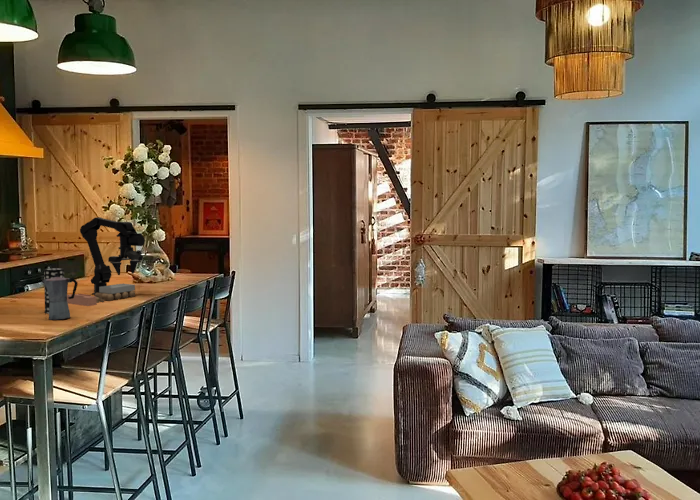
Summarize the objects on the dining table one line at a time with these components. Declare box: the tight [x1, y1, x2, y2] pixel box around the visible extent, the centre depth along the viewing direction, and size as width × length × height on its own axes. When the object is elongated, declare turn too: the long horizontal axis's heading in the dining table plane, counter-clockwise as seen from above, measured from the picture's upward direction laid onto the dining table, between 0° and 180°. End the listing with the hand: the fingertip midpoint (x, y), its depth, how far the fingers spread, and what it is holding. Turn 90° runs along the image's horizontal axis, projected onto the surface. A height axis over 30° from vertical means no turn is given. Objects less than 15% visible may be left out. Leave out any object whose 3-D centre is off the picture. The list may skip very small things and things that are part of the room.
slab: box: [99, 283, 136, 294], centre depth 349 cm, size 9×16×3 cm, turn 153°
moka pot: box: [41, 273, 79, 321], centre depth 289 cm, size 10×15×20 cm, turn 95°
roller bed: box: [94, 290, 136, 303], centre depth 343 cm, size 10×28×4 cm, turn 153°
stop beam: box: [67, 293, 98, 307], centre depth 328 cm, size 16×5×4 cm, turn 63°
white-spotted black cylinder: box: [43, 267, 65, 315], centre depth 303 cm, size 8×8×20 cm
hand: (125, 274), depth 353 cm, fingers open, 9 cm apart
